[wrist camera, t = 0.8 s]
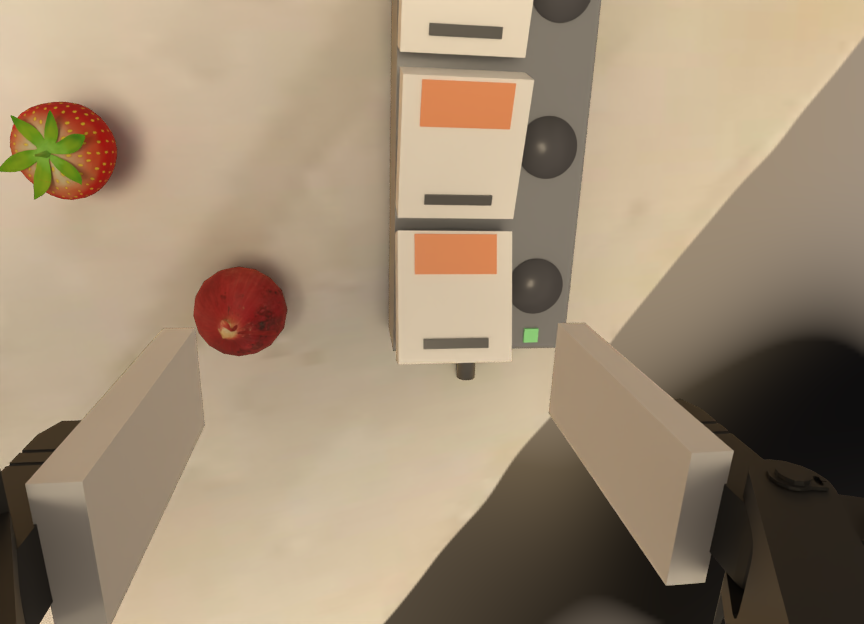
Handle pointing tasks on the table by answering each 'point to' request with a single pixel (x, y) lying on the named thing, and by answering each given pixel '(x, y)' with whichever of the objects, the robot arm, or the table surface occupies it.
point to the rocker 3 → (453, 296)
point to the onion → (239, 311)
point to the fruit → (62, 150)
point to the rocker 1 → (465, 27)
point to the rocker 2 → (460, 142)
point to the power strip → (525, 164)
